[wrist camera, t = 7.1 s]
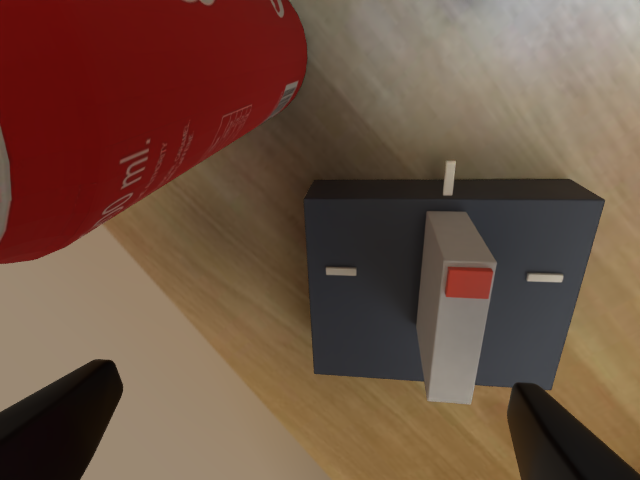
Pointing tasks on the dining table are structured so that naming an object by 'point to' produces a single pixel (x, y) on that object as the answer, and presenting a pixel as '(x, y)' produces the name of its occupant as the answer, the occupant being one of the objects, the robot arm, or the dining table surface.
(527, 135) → the dining table surface
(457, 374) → the tap handle
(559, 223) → the plate
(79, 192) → the beverage can
